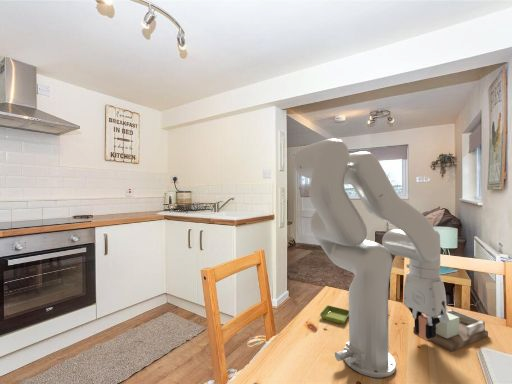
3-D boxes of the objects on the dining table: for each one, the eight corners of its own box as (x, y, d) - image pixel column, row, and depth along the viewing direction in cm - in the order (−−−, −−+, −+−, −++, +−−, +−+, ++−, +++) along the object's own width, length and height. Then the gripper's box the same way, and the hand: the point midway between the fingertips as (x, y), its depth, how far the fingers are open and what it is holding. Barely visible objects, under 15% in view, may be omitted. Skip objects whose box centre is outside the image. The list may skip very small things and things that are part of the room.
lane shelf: (451, 351, 71) (451, 337, 71) (413, 331, 81) (413, 318, 81) (488, 336, 78) (487, 322, 78) (448, 319, 88) (448, 308, 88)
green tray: (319, 320, 90) (319, 314, 90) (327, 310, 97) (327, 304, 97) (344, 327, 85) (344, 321, 85) (351, 316, 92) (351, 310, 92)
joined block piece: (433, 343, 72) (433, 322, 72) (412, 333, 77) (412, 313, 77) (459, 333, 76) (459, 313, 76) (438, 324, 82) (438, 305, 82)
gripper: (391, 266, 81) (391, 324, 81) (446, 282, 66) (446, 354, 66) (407, 263, 84) (407, 319, 84) (463, 278, 69) (464, 346, 69)
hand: (425, 334), depth 75 cm, fingers closed on joined block piece, 2 cm apart
